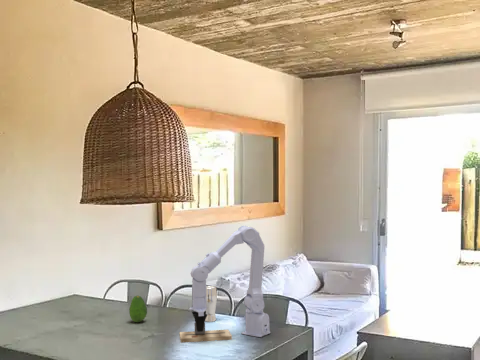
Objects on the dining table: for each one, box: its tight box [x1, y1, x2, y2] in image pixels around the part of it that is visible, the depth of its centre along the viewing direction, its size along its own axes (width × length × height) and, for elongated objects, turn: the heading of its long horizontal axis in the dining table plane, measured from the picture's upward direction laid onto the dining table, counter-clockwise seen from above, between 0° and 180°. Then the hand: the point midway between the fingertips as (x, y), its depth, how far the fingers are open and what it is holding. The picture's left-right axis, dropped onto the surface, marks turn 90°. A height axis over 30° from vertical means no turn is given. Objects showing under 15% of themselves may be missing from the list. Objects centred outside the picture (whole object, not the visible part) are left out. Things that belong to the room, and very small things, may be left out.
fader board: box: [178, 329, 233, 344], centre depth 219 cm, size 20×10×2 cm, turn 100°
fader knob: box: [193, 322, 206, 334], centre depth 218 cm, size 4×2×4 cm, turn 100°
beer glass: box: [205, 285, 218, 323], centre depth 248 cm, size 7×7×15 cm
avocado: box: [128, 294, 148, 323], centre depth 246 cm, size 8×8×12 cm
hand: (199, 330), depth 218 cm, fingers closed on fader knob, 2 cm apart
